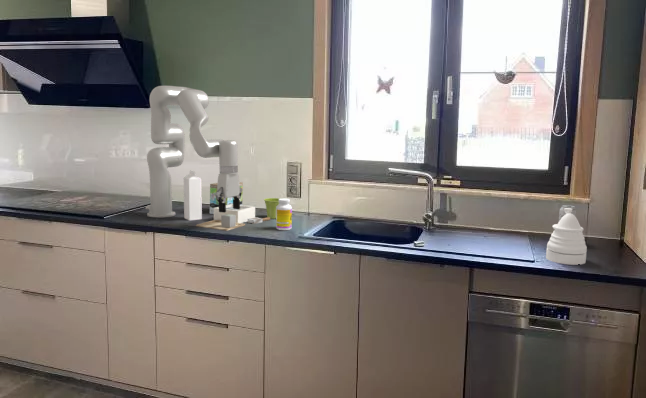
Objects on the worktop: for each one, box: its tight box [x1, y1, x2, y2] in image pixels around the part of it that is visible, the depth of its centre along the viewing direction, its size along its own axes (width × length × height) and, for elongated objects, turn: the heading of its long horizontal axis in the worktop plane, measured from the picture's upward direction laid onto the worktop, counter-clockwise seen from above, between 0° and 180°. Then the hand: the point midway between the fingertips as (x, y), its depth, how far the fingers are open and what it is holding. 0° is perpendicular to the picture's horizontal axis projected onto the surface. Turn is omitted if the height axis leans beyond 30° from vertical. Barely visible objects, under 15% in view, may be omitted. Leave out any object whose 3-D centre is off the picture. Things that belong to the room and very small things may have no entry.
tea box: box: [209, 181, 244, 215], centre depth 264 cm, size 15×10×15 cm
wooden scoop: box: [246, 216, 271, 225], centre depth 244 cm, size 11×4×2 cm, turn 138°
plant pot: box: [263, 197, 281, 220], centre depth 255 cm, size 9×9×9 cm
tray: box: [195, 219, 246, 231], centre depth 233 cm, size 16×13×1 cm
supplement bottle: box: [275, 198, 293, 231], centre depth 230 cm, size 7×7×13 cm
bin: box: [213, 204, 256, 224], centre depth 246 cm, size 13×13×6 cm
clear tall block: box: [558, 204, 577, 222], centre depth 217 cm, size 6×6×15 cm
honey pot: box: [545, 208, 588, 266], centre depth 191 cm, size 13×13×18 cm
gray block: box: [221, 214, 236, 228], centre depth 231 cm, size 4×4×5 cm
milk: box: [183, 170, 203, 221], centre depth 245 cm, size 6×6×22 cm
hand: (229, 210), depth 230 cm, fingers open, 9 cm apart
